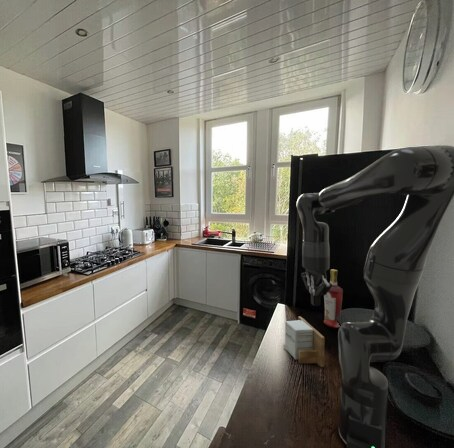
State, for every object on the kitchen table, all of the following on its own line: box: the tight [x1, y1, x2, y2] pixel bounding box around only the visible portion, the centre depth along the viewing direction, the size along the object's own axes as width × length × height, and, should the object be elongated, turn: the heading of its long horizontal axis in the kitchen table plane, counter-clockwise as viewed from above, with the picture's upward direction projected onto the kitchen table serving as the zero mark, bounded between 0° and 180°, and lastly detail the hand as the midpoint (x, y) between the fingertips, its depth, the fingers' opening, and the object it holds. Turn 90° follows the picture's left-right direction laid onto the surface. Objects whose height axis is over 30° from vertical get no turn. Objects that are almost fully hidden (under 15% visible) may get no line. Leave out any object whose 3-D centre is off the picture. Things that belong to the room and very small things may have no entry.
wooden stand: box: [297, 316, 326, 368], centre depth 100 cm, size 8×16×12 cm, turn 178°
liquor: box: [323, 268, 344, 329], centre depth 118 cm, size 7×7×28 cm
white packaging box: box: [284, 319, 313, 361], centre depth 100 cm, size 7×7×13 cm
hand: (315, 304), depth 82 cm, fingers closed
